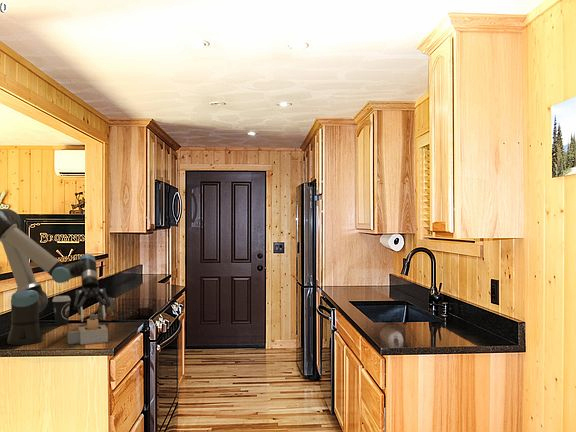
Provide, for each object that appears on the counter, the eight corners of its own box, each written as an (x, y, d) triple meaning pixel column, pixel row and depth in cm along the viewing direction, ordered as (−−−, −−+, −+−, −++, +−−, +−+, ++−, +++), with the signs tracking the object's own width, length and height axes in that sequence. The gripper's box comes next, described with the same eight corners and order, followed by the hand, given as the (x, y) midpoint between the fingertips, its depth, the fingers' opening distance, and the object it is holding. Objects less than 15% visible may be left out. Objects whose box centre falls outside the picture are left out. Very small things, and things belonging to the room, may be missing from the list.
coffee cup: (66, 321, 312) (66, 295, 312) (74, 324, 305) (73, 296, 305) (49, 324, 305) (49, 296, 305) (56, 326, 298) (56, 298, 298)
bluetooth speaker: (113, 318, 320) (113, 301, 320) (96, 319, 318) (96, 301, 318) (116, 312, 342) (116, 295, 342) (101, 312, 340) (100, 296, 340)
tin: (96, 319, 318) (96, 304, 318) (101, 318, 321) (101, 303, 321) (113, 321, 310) (113, 306, 310) (118, 320, 312) (118, 305, 312)
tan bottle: (92, 342, 258) (91, 315, 258) (84, 341, 261) (84, 314, 261) (100, 340, 263) (100, 314, 263) (93, 339, 265) (93, 313, 265)
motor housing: (107, 342, 259) (107, 329, 259) (68, 345, 252) (68, 332, 252) (104, 337, 270) (104, 324, 270) (67, 340, 263) (67, 328, 263)
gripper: (112, 284, 280) (117, 321, 266) (65, 287, 271) (68, 325, 257) (113, 275, 276) (118, 312, 261) (66, 277, 266) (68, 316, 252)
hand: (93, 318), depth 259 cm, fingers open, 9 cm apart
